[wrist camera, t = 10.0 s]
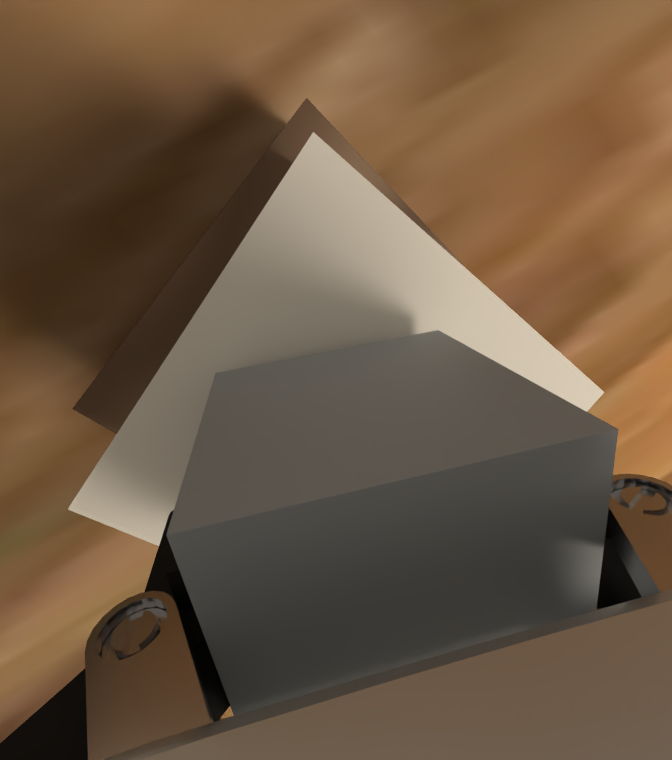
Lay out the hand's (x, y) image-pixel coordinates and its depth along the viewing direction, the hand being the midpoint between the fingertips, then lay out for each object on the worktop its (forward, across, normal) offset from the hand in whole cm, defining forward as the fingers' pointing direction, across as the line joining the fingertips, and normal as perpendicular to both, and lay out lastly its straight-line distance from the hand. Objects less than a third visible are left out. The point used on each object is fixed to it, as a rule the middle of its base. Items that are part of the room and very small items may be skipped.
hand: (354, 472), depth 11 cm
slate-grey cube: (+1, 0, 0) cm, 1 cm away
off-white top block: (+7, 0, 0) cm, 7 cm away
